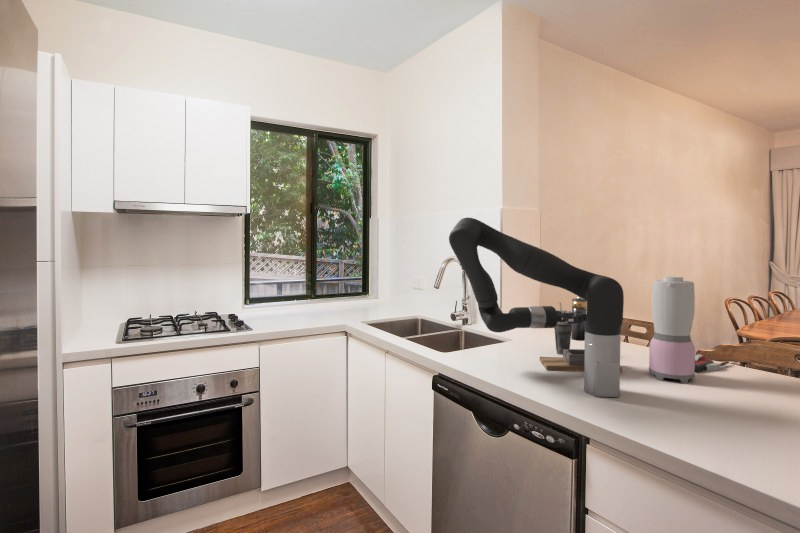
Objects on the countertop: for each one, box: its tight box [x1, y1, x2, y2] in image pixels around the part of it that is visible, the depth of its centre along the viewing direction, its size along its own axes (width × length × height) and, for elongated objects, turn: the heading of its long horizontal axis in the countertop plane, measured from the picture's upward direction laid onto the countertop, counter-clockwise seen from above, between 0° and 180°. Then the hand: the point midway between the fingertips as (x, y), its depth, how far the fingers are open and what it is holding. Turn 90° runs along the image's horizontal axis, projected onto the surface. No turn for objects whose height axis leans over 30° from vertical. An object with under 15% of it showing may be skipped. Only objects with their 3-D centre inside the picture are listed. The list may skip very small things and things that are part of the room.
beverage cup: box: [553, 302, 572, 356], centre depth 163 cm, size 7×7×20 cm
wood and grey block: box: [539, 348, 623, 374], centre depth 145 cm, size 12×24×8 cm, turn 82°
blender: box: [648, 275, 696, 384], centre depth 134 cm, size 16×12×32 cm
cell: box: [571, 296, 587, 342], centre depth 145 cm, size 5×5×15 cm
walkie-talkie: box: [694, 353, 730, 373], centre depth 144 cm, size 9×4×20 cm
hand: (586, 316), depth 145 cm, fingers closed on cell, 4 cm apart
